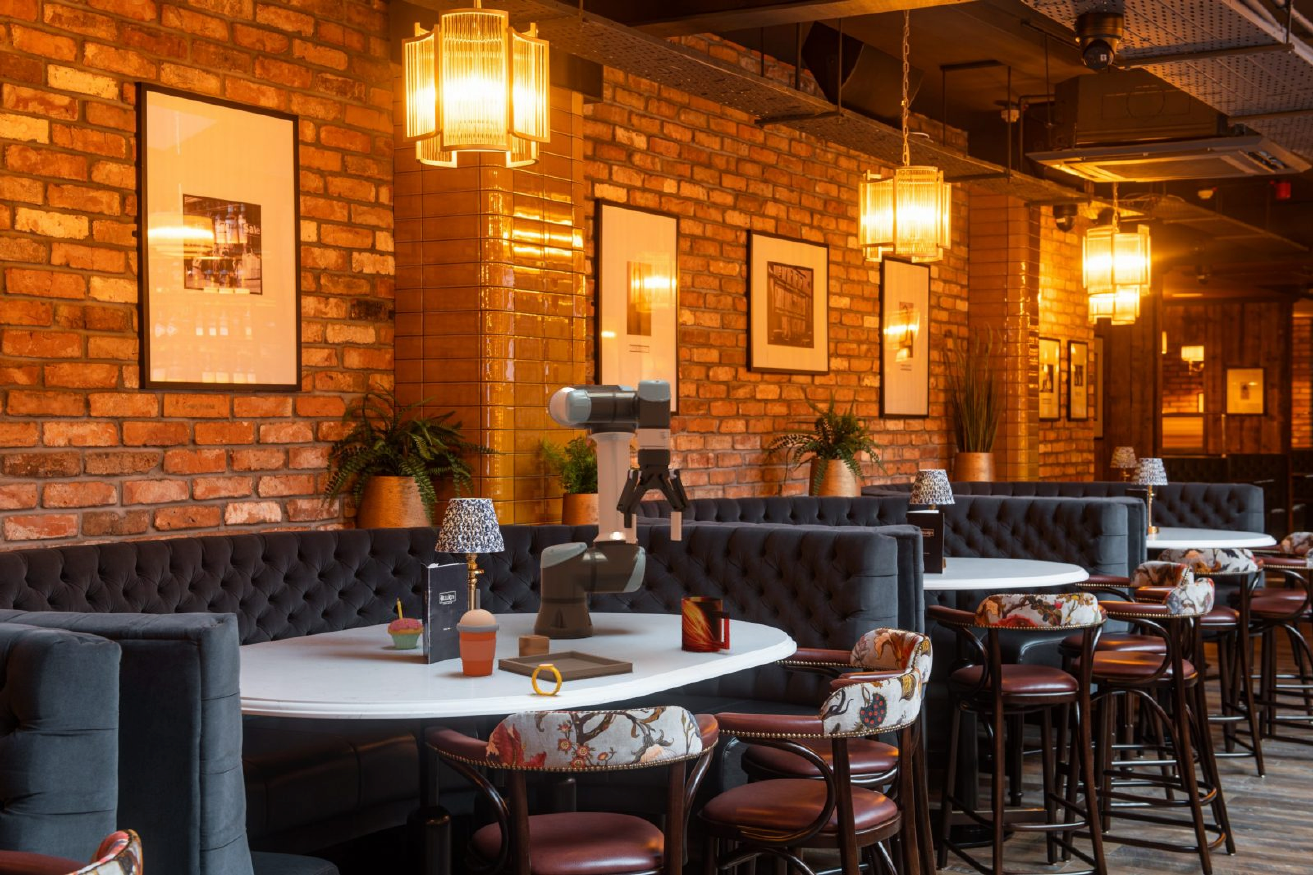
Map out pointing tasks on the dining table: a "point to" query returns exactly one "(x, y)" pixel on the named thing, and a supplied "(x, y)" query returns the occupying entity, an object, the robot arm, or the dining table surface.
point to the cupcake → (405, 631)
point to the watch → (557, 674)
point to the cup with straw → (477, 640)
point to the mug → (704, 625)
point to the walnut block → (533, 645)
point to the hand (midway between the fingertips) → (653, 541)
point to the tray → (566, 665)
